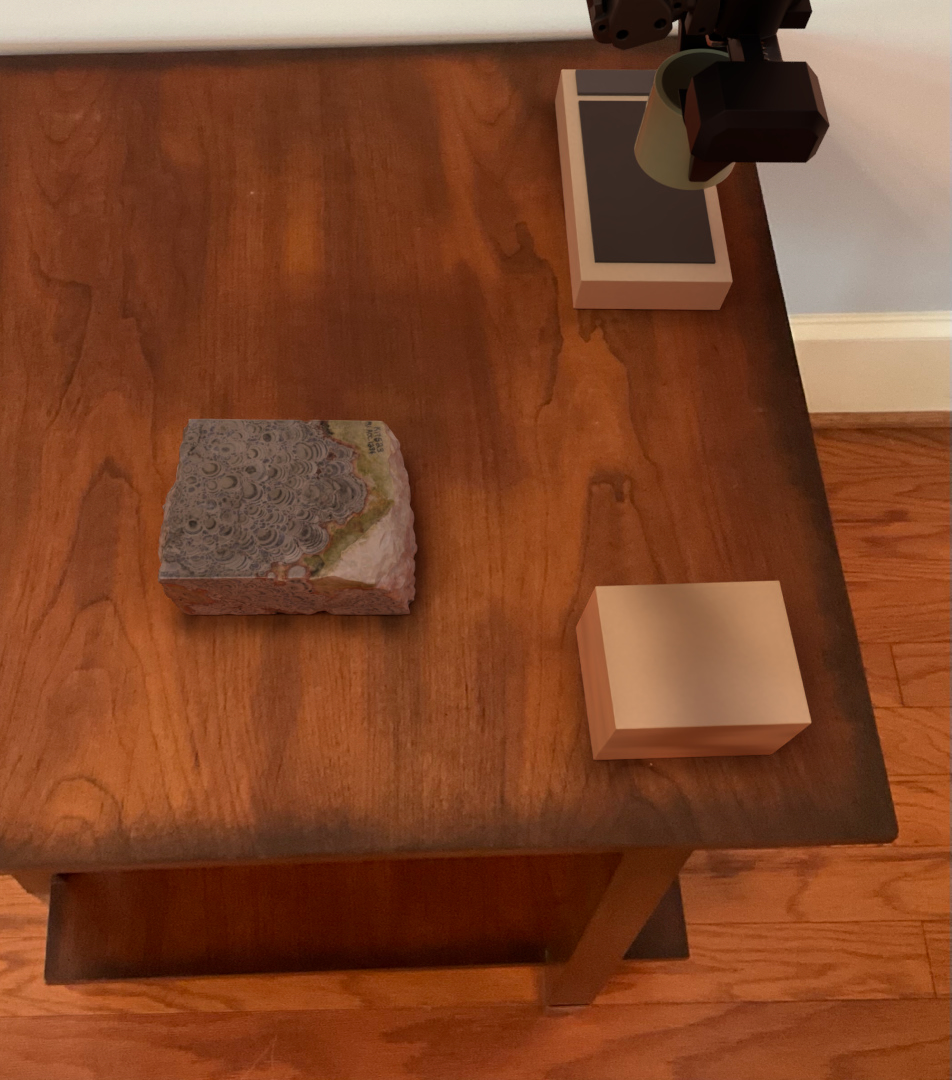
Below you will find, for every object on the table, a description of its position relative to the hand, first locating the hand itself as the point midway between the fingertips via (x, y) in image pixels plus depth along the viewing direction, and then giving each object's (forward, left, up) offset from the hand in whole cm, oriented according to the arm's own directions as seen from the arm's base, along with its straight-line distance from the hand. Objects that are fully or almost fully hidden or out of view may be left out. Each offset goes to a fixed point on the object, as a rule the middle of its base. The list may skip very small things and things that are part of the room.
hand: (690, 140), depth 64 cm
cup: (0, 0, -1) cm, 1 cm away
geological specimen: (+30, +8, -13) cm, 34 cm away
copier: (-3, -7, -13) cm, 15 cm away
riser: (+14, +26, -13) cm, 32 cm away
